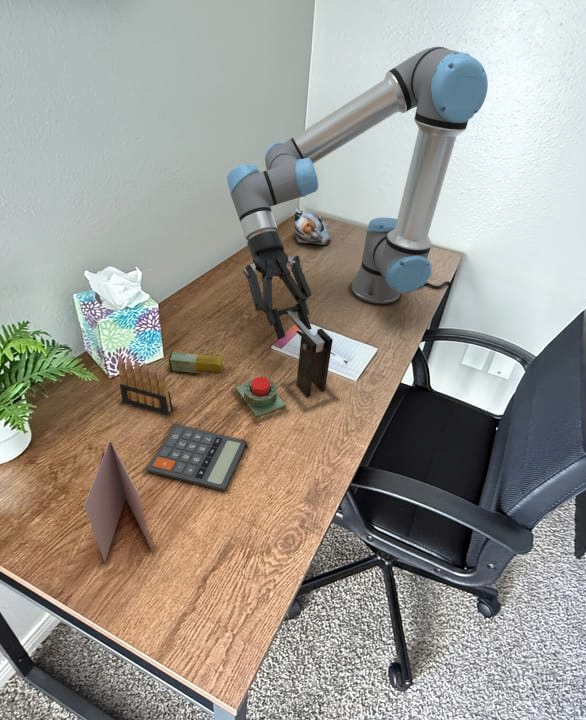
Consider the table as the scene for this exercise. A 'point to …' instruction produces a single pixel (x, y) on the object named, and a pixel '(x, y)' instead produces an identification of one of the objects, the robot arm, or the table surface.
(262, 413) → the button block
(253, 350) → the table surface
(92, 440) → the table surface
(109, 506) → the greeting card
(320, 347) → the lever
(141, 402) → the ammunition clip
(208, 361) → the medication box
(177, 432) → the calculator
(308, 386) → the bracket
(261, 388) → the button
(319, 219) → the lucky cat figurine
